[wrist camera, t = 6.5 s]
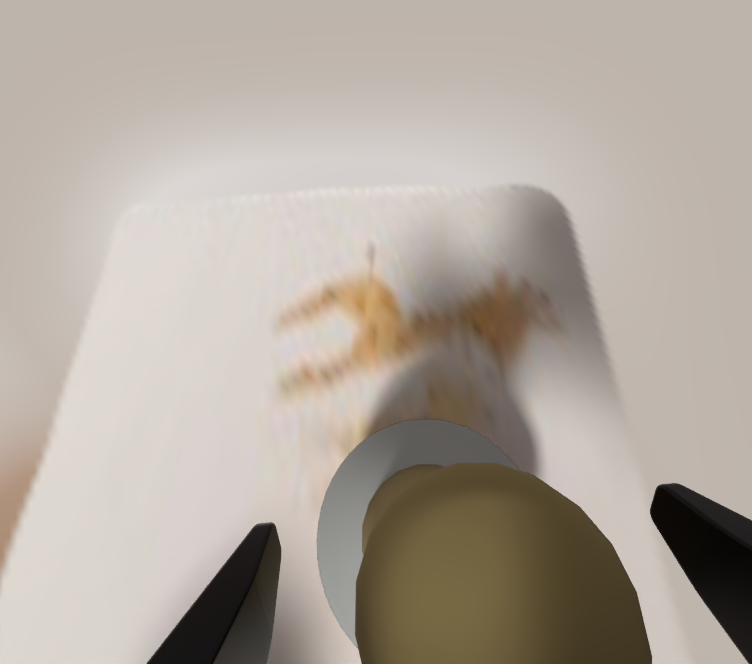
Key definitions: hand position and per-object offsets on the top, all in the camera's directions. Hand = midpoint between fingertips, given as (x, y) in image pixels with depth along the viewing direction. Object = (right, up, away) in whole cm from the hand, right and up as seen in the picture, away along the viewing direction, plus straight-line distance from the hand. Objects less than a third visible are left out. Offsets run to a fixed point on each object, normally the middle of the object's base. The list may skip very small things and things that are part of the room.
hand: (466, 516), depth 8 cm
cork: (0, -5, +7) cm, 9 cm away
